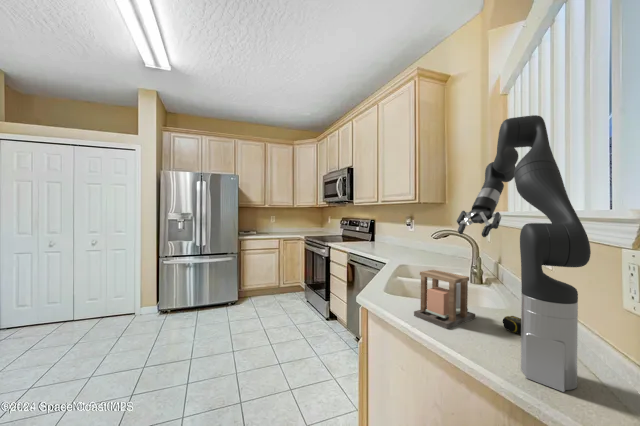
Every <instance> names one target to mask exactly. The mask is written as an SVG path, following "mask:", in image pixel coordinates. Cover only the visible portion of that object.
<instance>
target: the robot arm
mask: <svg viewBox="0 0 640 426" xmlns="http://www.w3.org/2000/svg"><path fill="white" fill-rule="evenodd" d="M528 147H529V148H530V149H529V151H528V152H527V153H526V154H525V155H524V156H523V157H522V158H521V159H520V160H519V152H518V151H517V148H518V149H519V148H528ZM518 160H519V161H518ZM513 179H514V183H515V186H516V187H515V188H516V191H517V193H518V194H519V196H520V197H521V198H522V199H523V200H524V201H526V202H527V203H528V204H530V205H531V206H533V207H534V208H535V209H537V210H538V211H540V212H541V213H542V214H543V215H545V216H546V217H547V219H549V221H550V222H549V223H547V222H544V223H543V222H542V223H541V222H530V223H526V224H524V225H523V226H522V228H521V229H520V234H519V251H520V253H519V255H520V269H521V270H520V271H521V273H520V275H521V276H520V277H521V278H520V279H521V284H520V285H521V290H520V291H521V297H520V299H521V304H520V305H521V307H520V309H521V310H520V318H521V334H520V370H521V371H522V372H523V374H524V376H525V378H526V379H527V380H530V381H533V382H536V383H538V384H540V385H544V386H546V387H550V388H553V389H555V390H557V391H560V392H563V393H565V392H566V391H570V390H575V389H576V388H578V333H579V332H578V329H579V328H578V326H579V325H578V323H579V322H578V321H579V320H578V318H579V316H578V313H579V311H578V309H579V305H578V304H579V303H578V302H579V293H578V292H579V291H578V290H577V288H576V287H574V286H573V285H571V284H568V283H566V282H563V281H560V280H557V279H556V278H553V277H551V276H550V275H548V274H546V273H544V270H543V266H547V267H558V268H560V267H561V268H582V267H585V266H587V264H589V262H590V260H591V259H590V258H591V251H592V250H591V245H590V243H591V242H590V240H589V238H588V234H587V232H586V230H585V228H584V226H583V223H582V222H581V220H580V218H579V216H578V214H577V212H576V211H575V209H574V206H573V205H572V202H571V201H570V199H569V196H568V193H567V190H566V187H565V184H564V181H563V177H562V174H561V171H560V168H559V166H558V164H557V161H556V160H555V157H554V154H553V151H552V148H551V145H550V140H549V135H548V130H547V126H546V122H545V120H544V118H543V117H542V116H541V115H533V114H532V115H523V116H516V117H510V118H506V119H505V120H503V121H502V123H501V124H500V127H499V131H498V137H497V145H496V155H495V158H494V160H493V161H492V162H490V163H488V165H487V166H486V167H485V171H484V183H483V185H482V187H481V189H480V191H479V192H478V194H477V195H476V198H475V200H474V202H473V204H472V206H471V210H469V212H467V211H466V210H461V212H460V214H459V216H458V218H457V219H456V223H457V225H458V228H457V232H458V234H459V235H463V234H464V231H465V229H466V227H468V225H472V224H481V225H482V224H485V225H484V227H483V229H482V231H481V236H482V237H483V238H487V237H488V236H489V234H490V232H491V230H492V229H494V230H497V229H499V226H500V222H501V220H502V216H501V213H500V212H498V211H497V212H495V210H496V208H497V206H498V204H499V201H500V198H501V195H502V194H503V193H502V192H503V190H504V187H505V185H504V183H510V182H511V181H513ZM494 212H495V213H494ZM492 218H493V219H492ZM491 219H492V223H490V222H489V220H491Z"/></svg>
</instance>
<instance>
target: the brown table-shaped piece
mask: <svg viewBox="0 0 640 426" xmlns="http://www.w3.org/2000/svg"><path fill="white" fill-rule="evenodd" d="M419 276H420V309H418V310H414V311H413V316H414V317H416V318H418V319H421V320H424V321H426V322H428V323H431V324H433V325H436V326H439V327H441V328H444V329H446V330H448V329H450V328H453V327H456V326H459V325H461V324H465V323H466V322H469V321H472V320H475V319H476V313H474V312H471V311H469V310H468V311H467V308H468V301H469V300H468V296H469V295H468V293H469V292H468V291H469V290H468V288H469V287H468V282H469V281H470V276H466V275H462V274H457V273H456V274H455V273H451V272H446V271H442V270H437V269H430V270H429V269H428V270H423V271H419ZM428 278H430V279H432V282H431V288H435V287H439V284H440V283H439V281H442V282H447V283H448V284H449V285H448V290H449V317H447V318H443V317H440V316H437V315H435V314H432V313H429V312H426V309H427V289H428ZM456 283H461V295H460V313H459V314H456Z"/></svg>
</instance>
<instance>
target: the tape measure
mask: <svg viewBox="0 0 640 426" xmlns="http://www.w3.org/2000/svg"><path fill="white" fill-rule="evenodd" d="M502 324H503V328H504V329H506V330H508V331H510V332H512V333H515V334H519V335H521V317H517V316H514V315H507V316H504V318H503V319H502Z"/></svg>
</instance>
